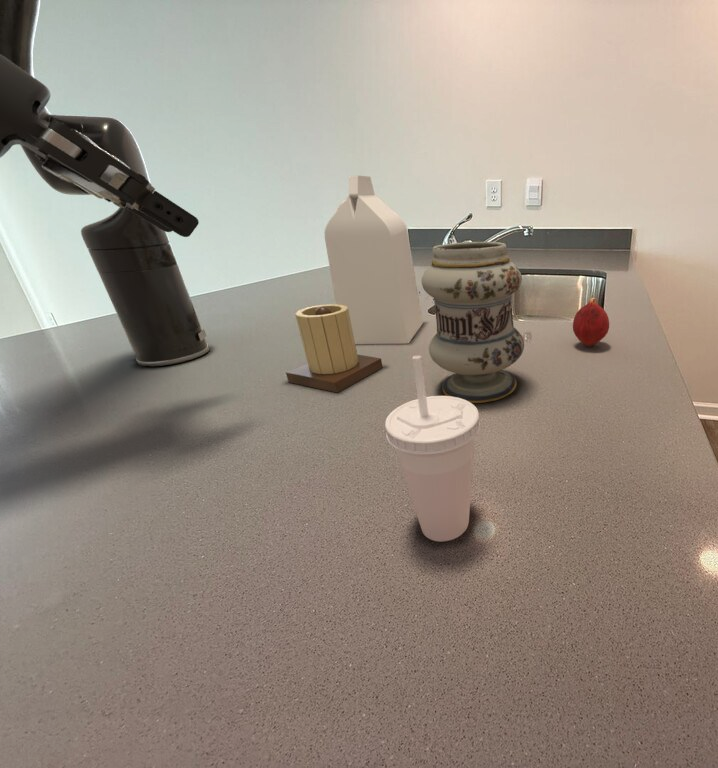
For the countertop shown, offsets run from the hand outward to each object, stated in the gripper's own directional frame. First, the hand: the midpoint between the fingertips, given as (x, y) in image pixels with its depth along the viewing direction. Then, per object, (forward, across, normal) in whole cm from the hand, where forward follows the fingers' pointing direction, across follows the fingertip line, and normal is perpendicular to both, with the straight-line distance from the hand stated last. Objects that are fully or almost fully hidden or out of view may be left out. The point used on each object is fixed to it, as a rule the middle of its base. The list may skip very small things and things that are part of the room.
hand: (183, 227), depth 41 cm
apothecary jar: (+31, -18, -2) cm, 36 cm away
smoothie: (+18, -34, +11) cm, 40 cm away
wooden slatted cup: (+22, 0, +5) cm, 23 cm away
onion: (+47, -21, -17) cm, 54 cm away
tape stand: (+23, 0, +6) cm, 24 cm away
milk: (+34, +12, -4) cm, 36 cm away
